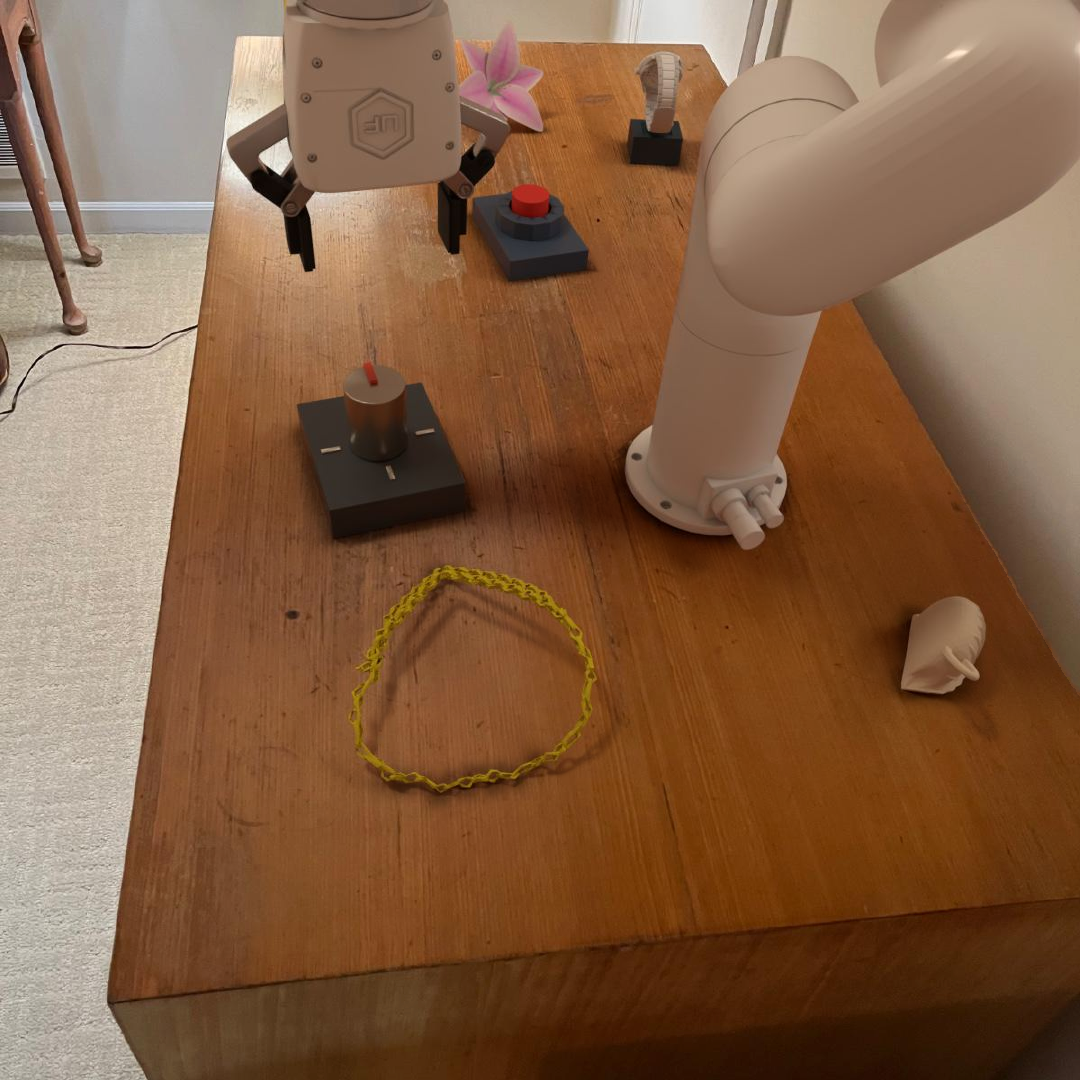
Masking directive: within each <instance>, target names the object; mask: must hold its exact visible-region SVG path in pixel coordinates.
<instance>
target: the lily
mask: <svg viewBox="0 0 1080 1080" xmlns="http://www.w3.org/2000/svg"><path fill="white" fill-rule="evenodd" d="M459 40H460V41H459V43H460V46H461V48H462V52H463V54H464V56H465V58H466V61H467V63H468V65H469V67H470V69H471V72H472V73H470V74H469V75H468V76H467V77H466V78H465V79H464V80H463V81H462V82H461V83H460V84H459V95H460V96H462V97H464V98H466V99H469V100H471V101H473V102H475V103H477V104H480V105H482V106H484V107H486V108H488V109H490V110H493V111H495V112H497V113H499V114H501V115H503V116H504V118H505V119H506V121H507V122H508V118H509V119H512V120H513V121H515V122H518V123H520V124H521V125H524V126H526V127H528V128H530V129H531V130H533V131H535V132H540V133H541V132H543V131H544V124H543V121H542V117H541V113H540V111H539V109H538V106H537V104H536V102H535V100H534V98H533V96H532V95H531V93H530V92H529V91H530V90H531V89H533V88H534V87H535V86H536V85H537V84H538V83H539V82H540V81H541V79H542V78H543V76H544V73H545V72H544V71H543V70H542V69H540V68H538V67H535V66H531V65H528V64H521V51H520V45H519V40H518V36H517V32H516V28H515V26H514V24H513V22H512V21H511V20H507V21H506V22H505V24H504V25H503V26H502V28H501V30H500V31H499V33H498V35H497V37H495V40H494V41H493V43H492V45H491V47H490V50H489V51H486V50H485V49H483V48H482V47H480V46H478V45H477V44H475V43H473V42H470V41H468V40H465V39H459Z"/></svg>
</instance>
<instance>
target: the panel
mask: <svg viewBox="0 0 1080 1080" xmlns="http://www.w3.org/2000/svg"><path fill="white" fill-rule="evenodd" d="M406 406H407V428H408V444H407V447H406V448H405V450H404V451H403V452H402V453H401V454H400V455H398V456H396V457H394V458H392V459H389V460H385V461H370V460H366V459H363V458H361V457H359V456H357V455H356V454H355V453H354V452H353V451H352V450H351V448H350V446H349V440H348V430H347V420H346V410H345V401H344V395H342V396H337V397H331V398H330V397H329V398H324V399H319V400H313V401H307V402H301V403H297V404H296V410H297V415H298V422H299V423H298V424H299V429H300V430H299V431H300V434H301V438H302V441H303V444H304V447H305V451H306V454H307V457H308V461H309V464H310V467H311V471H312V475H313V477H314V481H315V483H316V487H317V491H318V494H319V497H320V501H321V504H322V507H323V510H324V513H325V517H326V520H327V522H328V523H327V524H328V527H329V530H330V533H331V536H332V539H339V538H344V537H348V536H355V535H358V534H363V533H368V532H372V531H378V530H382V529H387V528H390V527H396V526H401V525H405V524H410V523H414V522H419V521H424V520H427V519H428V520H429V519H433V518H438V517H443V516H448V515H452V514H457V513H461V512H465V511H466V487H467V486H466V484H467V483H466V480H465V478H464V475H463V473H462V471H461V469H460V466H459V465H458V462H457V460H456V458H455V455H454V453H453V450H452V448H451V446H450V444H449V442H448V439H447V436H446V435H445V432H444V429H443V428H442V425H441V423H440V421H439V419H438V417H437V414H436V411H435V410H434V407H433V405H432V403H431V400H430V398H429V395H428V393H427V392H426V389H425V387H424V385H423V383H422V382H417V383H416V382H415V383H409V384H406Z"/></svg>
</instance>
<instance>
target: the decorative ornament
mask: <svg viewBox="0 0 1080 1080" xmlns="http://www.w3.org/2000/svg"><path fill="white" fill-rule="evenodd" d="M986 631H987V626H986V622H985V617H984V614H983V612H982V611H981V608H980V605H978V604H976V603H975V602H974V601H971V600H970V599H969V598H967V597H964V596H958V595H955V596H948V597H944V598H942V599H939V600H937V601H936V602H935V601H934V602H933V603H932V604H930V605H929V606H928V607H927V608H925V609H924V610H923V611H922V612H920V613H916V614H913V615H912V617H911V622H910V627H909V636H908V644H907V651H906V657H905V660H904V666H903V672H902V676H901V682H900V688H901V690H905V691H910V692H911V691H912V692H918V693H924V694H925V693H926V694H934V695H935V694H936V695H944V694H946V693H951V692H954V691H955V689H957V688H958V687H959V686H961V685H962V683H963V680H964V679H965V678H966V679H968V680H970V681H972V682H973V681H974V682H976V681H978V680H979V679H980V672H979V670H977V668H976V667H975V663H976V661H977V659H978V658H979V656H980V654H981V651H982V648H983V646H984V644H985V641H986ZM956 687H957V688H956Z"/></svg>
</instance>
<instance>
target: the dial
mask: <svg viewBox="0 0 1080 1080" xmlns="http://www.w3.org/2000/svg"><path fill="white" fill-rule="evenodd" d="M406 385H407V384H406V380H405V378H404V376H403V375H402V374H401V372H399V371H398V370H396V369H395V368H392V367H390V366H387V365H381V364H372V361H367V362H363V363H362V366H360V367H358V368H356V369H353V370H352V371H351V372H349V373H348V374H346V376H345V377H344V380H343V383H342V390H343V396H344V401H345V410H346V420H347V430H348V440H349V446H350V448H351V450H352V451H353V452H354V453H355V454H356V455H357V456H359V457H361V458H363V459H366V460H370V461H385V460H389V459H392V458H394V457H396V456H398V455H400V454H401V453H402V452H403V451H404V450H405V448H406V447H407V444H408V428H407V406H406Z"/></svg>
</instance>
